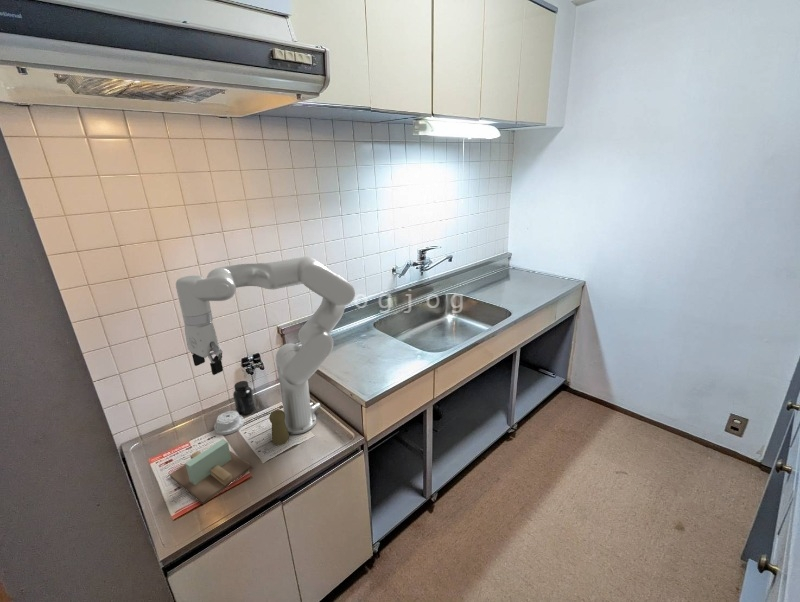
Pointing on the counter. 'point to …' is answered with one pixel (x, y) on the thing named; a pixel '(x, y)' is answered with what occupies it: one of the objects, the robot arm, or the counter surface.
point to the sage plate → (208, 461)
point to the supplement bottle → (243, 398)
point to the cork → (278, 427)
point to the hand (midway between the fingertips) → (208, 368)
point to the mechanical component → (228, 422)
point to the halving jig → (212, 478)
